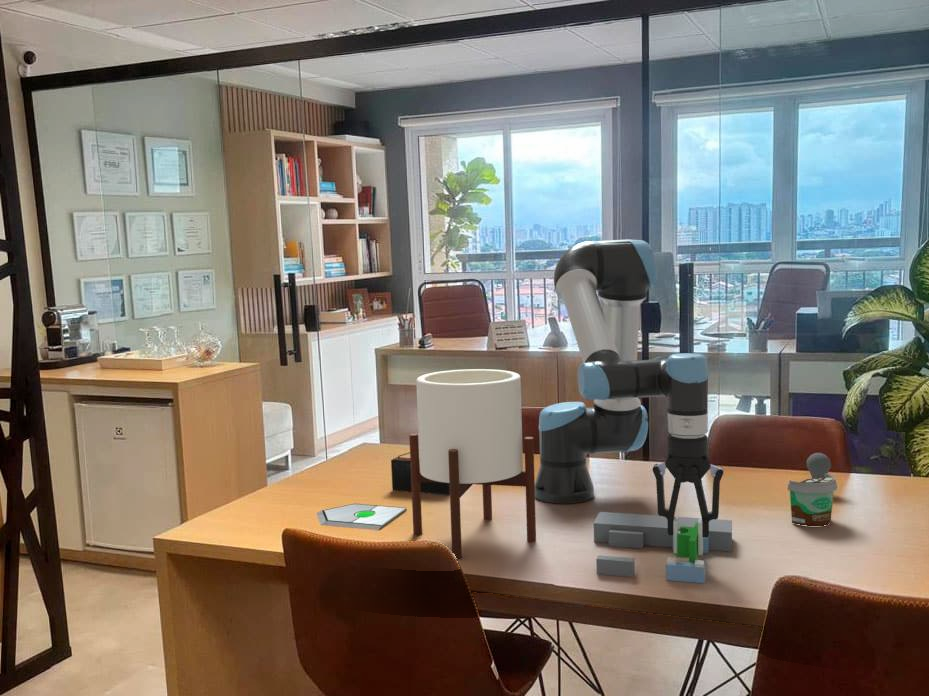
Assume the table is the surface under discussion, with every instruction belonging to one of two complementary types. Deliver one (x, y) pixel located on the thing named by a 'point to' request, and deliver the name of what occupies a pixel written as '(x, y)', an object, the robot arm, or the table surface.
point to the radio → (403, 478)
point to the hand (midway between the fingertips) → (688, 551)
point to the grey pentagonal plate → (359, 516)
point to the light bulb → (818, 465)
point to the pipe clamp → (688, 543)
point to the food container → (812, 500)
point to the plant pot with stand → (470, 441)
